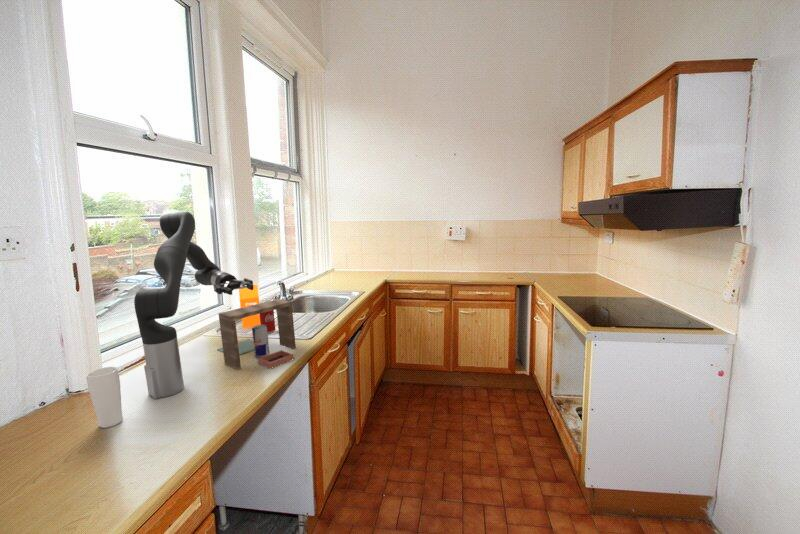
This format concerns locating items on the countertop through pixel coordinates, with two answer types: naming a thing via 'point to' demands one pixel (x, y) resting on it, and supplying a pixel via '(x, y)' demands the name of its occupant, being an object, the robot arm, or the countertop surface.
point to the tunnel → (229, 317)
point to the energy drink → (260, 341)
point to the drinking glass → (106, 395)
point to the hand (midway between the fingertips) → (242, 289)
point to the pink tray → (275, 359)
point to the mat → (243, 346)
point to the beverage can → (268, 320)
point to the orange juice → (249, 299)
